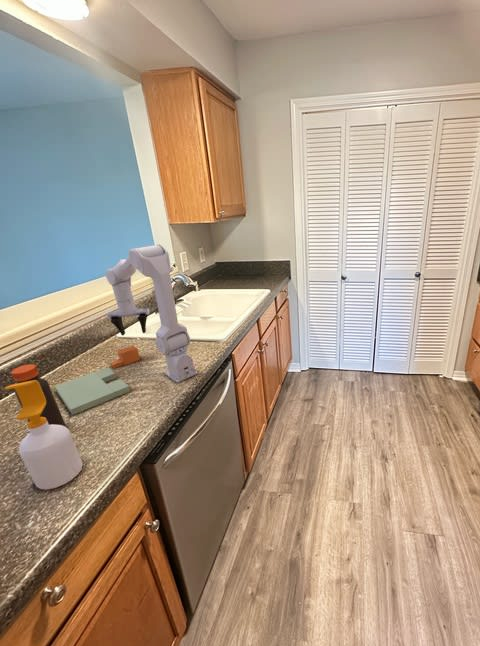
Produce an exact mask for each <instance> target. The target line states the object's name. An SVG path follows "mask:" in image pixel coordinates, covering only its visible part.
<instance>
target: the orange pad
mask: <svg viewBox="0 0 480 646" xmlns="http://www.w3.org/2000/svg"><path fill="white" fill-rule="evenodd" d="M116 352H117V356H118V359H117V360H114V361H110V366H111V367H112V368H113V369H116V368H120V367H122V366H126V365H130V364H131V363H134V362H137V361H140V360H141V358H140V353H139V350H138V348H137V347H136V346H135V345H130V346H127V347H124V348H121V349H118V350H117V351H116Z"/></svg>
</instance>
